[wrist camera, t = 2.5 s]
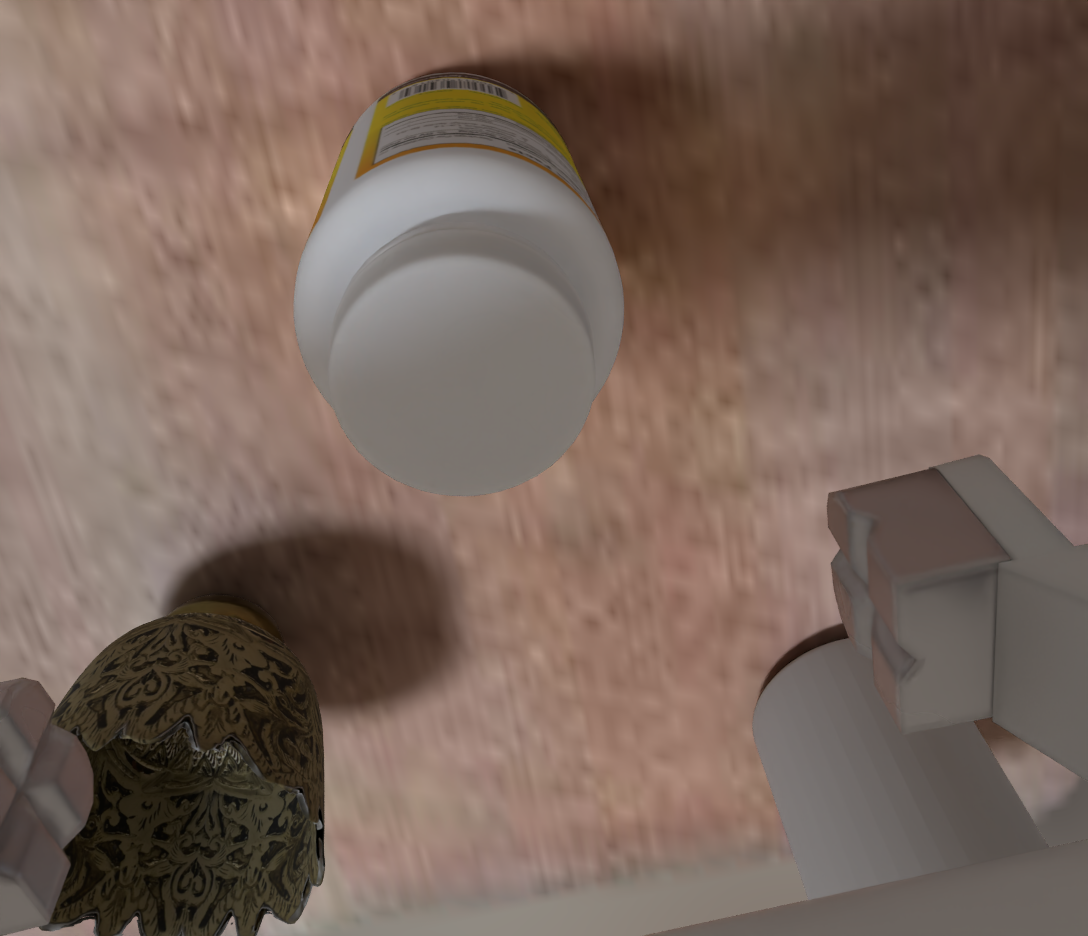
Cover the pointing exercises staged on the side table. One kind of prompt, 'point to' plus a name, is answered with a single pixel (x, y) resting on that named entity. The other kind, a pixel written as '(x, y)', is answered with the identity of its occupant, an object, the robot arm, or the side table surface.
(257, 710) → the cup
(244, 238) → the side table surface
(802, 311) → the side table surface
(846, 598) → the robot arm
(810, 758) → the beverage can
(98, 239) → the side table surface
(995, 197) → the side table surface
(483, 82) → the supplement bottle
